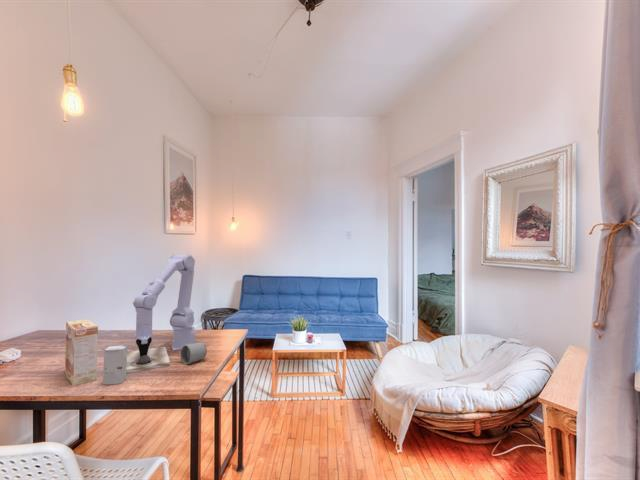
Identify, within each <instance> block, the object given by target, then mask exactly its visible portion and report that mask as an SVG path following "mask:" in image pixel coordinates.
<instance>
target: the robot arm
mask: <svg viewBox="0 0 640 480" xmlns="http://www.w3.org/2000/svg"><path fill="white" fill-rule="evenodd" d="M195 263H196V259H195V258H194V257H193V256H192V255H191V254H175V253H174V254H172V255H171V256H170V257H169V259H168V260H167V264H166V265H165V267H164V269H163V270H162V271H161V273H160V275H159V276H158V277H157V279H153V280H151V281H149V284H148V285H147V286H146V288H145V289H144V290H143V291H142V293H141V294H138V295H137V296H136V297H135V298H134V301H132V304H133V307H134V308H135V312H136V320H135V321H136V323H135V324H136V325H135V330H136V331H135V334H132V339H135V338H136V339H135V344H136V345H137V348H138V350H139V353H140V357H141V356H143V355H147V353H148V349H150V348H149V347H150V346H151V344H152V341H153V339H152V338H153V309H154V307H155V306H156V304H157V300H158V297H159V295H161V293H162V292H163V291H164V289H165V287H166V285H165V284H166V282H167V281H168V280H169V279H170V278H171V277H172V275H173V274H174V273H176V271H177V272H179V273H180V274H181V276H180V284H179V291H178V298H177V305H176V308H175V309H173V310H172V313H171V316H170V319H169V325H170V326H171V327H172V330H173V331H172V334H173V335H172V336H173V338H172V339H173V343H172V344H171V349H172V351H179V350H180V351H181V349H182V347H183V346H184V345H187V344H193V343H196V328H195V326H193V325H194V324H195V316H194V313H195V312H194V311H193V310H192V309H191V308H190V307H191V299H192V293H193V292H192V291H193V284H194V278H195V277H194V275H195Z"/></svg>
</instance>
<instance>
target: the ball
mask: <svg viewBox="0 0 640 480" xmlns="http://www.w3.org/2000/svg"><path fill="white" fill-rule="evenodd" d="M149 362H150V357H149V356H148V355H143V356H141V357H140V358H139V364H140V365H144V364H148V363H149Z"/></svg>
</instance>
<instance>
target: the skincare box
mask: <svg viewBox="0 0 640 480" xmlns="http://www.w3.org/2000/svg"><path fill="white" fill-rule="evenodd" d="M128 347H129V346H128V345H109V346H108V347H106V348H105V349H104V353H103V355H104V356H103V369H102V370H103V371H102V385H103V386H104V385H106V386H107V385H120V384H122V383H123V382H124V381H126V379H127V374H126V366H127V352H128Z"/></svg>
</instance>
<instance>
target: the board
mask: <svg viewBox="0 0 640 480" xmlns="http://www.w3.org/2000/svg"><path fill="white" fill-rule="evenodd" d="M166 348H167V347H166V346H159V347H153V348H151V347H150V348H148V353H147V355H148V356H149V357H150V362H149V363H148V364H144V365H140V364H139V358H140V353H139V349H138V350H132V351H127V366H126V375H127V374H131V373H132V374H133V373H137V372H143V371H150V370H154V369H161V368H165V367H166V368H167V367H170V366H171V363H170V362H171V361H170V358H169V355H168V354H169V353H168V352H167V349H166Z"/></svg>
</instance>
